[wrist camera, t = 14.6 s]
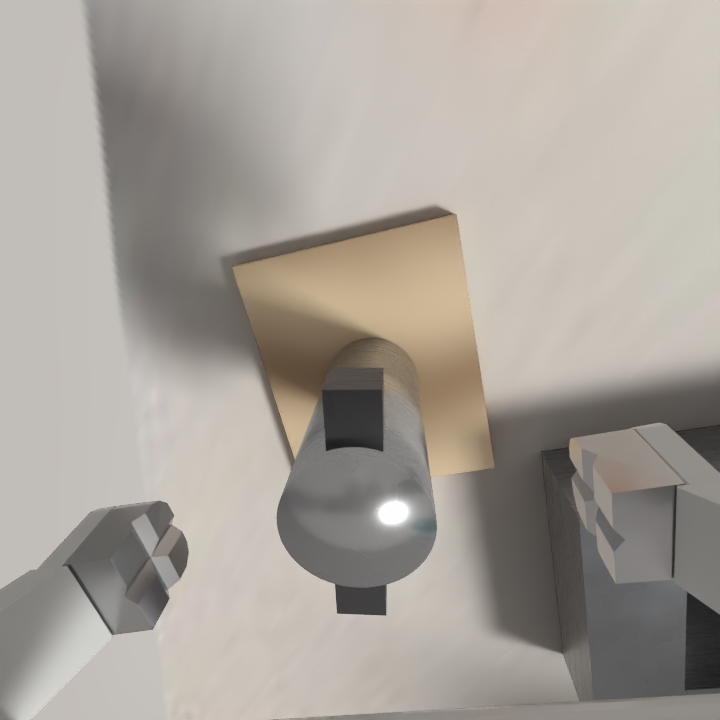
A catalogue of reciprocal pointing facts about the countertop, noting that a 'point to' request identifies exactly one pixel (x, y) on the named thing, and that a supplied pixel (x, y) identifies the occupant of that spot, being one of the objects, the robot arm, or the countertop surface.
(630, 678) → the grey handled square frame
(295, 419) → the pad
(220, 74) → the countertop surface
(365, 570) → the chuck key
